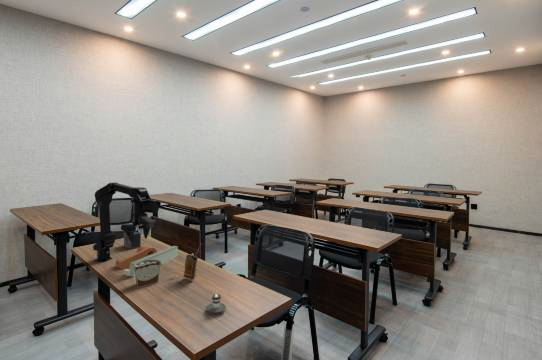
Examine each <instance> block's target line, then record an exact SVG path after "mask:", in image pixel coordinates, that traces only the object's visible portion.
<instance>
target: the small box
mask: <svg viewBox="0 0 542 360" xmlns="http://www.w3.org/2000/svg"><path fill="white" fill-rule="evenodd" d="M141 239H142V238H141V232H138V231H135V232H134V240H133V243H131V241H130V239H129V237H128V236H127V234H126V233H125V231H123V247H125V248H127V249H129V250H135V249H138V248H139V247H141V246H142V244H141Z"/></svg>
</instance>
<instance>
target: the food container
mask: <svg viewBox="0 0 542 360" xmlns="http://www.w3.org/2000/svg"><path fill="white" fill-rule="evenodd" d="M161 266H162V264H161V262H160V261H159V260H153V259H151V260H143V261H140V262H137V263H136V264H135V265H134V269H133V271H135V282H136V288H137V289H139V288H143V287H146V286H149V285H153V284H158V283H159V281H160V280H159V278H160V270H161V269H160V268H161Z"/></svg>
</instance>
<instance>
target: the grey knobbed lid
mask: <svg viewBox="0 0 542 360" xmlns="http://www.w3.org/2000/svg"><path fill="white" fill-rule="evenodd" d="M221 298H222V296H221V294H219V293H217V294H216V293H215V294H213V295H212V298H211V300H212V303H209V304H208V305H206V307H205V310H206V311H207V312H209V313H212V314H213V313H215V314H216V313H220V312H223V311H224V310H226V308H227V307H226V305H225V304H224V303H222V302H221V300H222V299H221Z"/></svg>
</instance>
